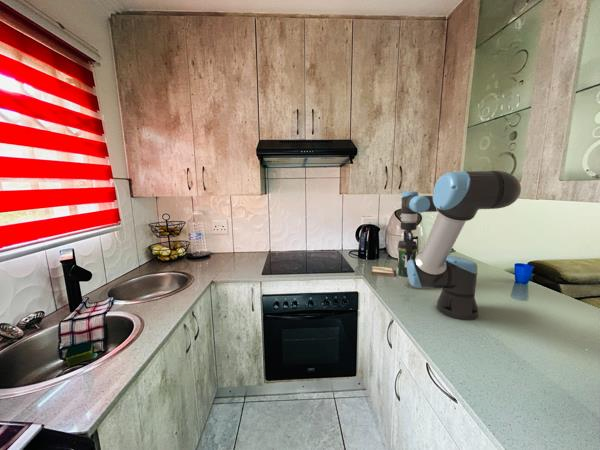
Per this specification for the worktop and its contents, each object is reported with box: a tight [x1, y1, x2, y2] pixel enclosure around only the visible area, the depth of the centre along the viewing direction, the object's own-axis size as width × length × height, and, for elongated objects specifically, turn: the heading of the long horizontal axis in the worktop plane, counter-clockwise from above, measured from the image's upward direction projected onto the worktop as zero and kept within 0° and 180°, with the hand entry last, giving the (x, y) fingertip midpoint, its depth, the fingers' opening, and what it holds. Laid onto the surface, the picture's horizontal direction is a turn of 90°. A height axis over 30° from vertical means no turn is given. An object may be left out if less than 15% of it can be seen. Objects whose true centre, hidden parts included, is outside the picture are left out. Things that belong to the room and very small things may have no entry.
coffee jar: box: [396, 240, 418, 278], centre depth 130 cm, size 10×8×19 cm
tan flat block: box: [370, 265, 395, 278], centre depth 155 cm, size 11×13×2 cm
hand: (406, 264), depth 131 cm, fingers closed on coffee jar, 8 cm apart
